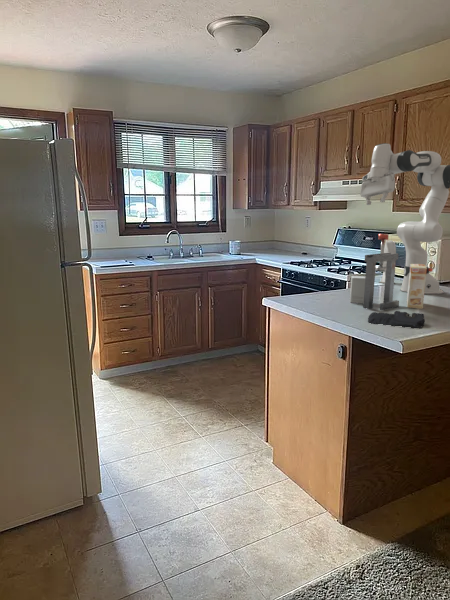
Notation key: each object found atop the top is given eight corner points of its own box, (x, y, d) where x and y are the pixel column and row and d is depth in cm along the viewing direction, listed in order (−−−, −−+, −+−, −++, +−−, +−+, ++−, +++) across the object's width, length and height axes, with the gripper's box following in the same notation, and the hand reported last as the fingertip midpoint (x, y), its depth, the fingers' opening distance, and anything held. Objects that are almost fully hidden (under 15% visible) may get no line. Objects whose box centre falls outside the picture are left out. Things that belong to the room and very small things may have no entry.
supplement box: (365, 303, 228) (367, 278, 225) (350, 302, 229) (351, 277, 226) (364, 300, 235) (366, 276, 232) (349, 299, 236) (350, 275, 234)
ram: (373, 270, 219) (375, 234, 216) (379, 270, 222) (382, 233, 219) (382, 272, 216) (385, 234, 212) (388, 271, 218) (391, 234, 215)
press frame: (361, 307, 219) (365, 254, 214) (384, 302, 230) (388, 252, 225) (378, 311, 211) (383, 256, 206) (402, 306, 223) (406, 254, 217)
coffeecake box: (423, 309, 217) (427, 267, 213) (406, 307, 219) (410, 267, 215) (421, 302, 231) (425, 264, 227) (406, 301, 233) (410, 263, 229)
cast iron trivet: (370, 316, 203) (371, 306, 202) (424, 322, 195) (425, 311, 194) (366, 324, 190) (366, 313, 189) (424, 330, 181) (425, 319, 180)
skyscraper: (376, 282, 291) (380, 237, 285) (386, 281, 294) (390, 237, 289) (386, 284, 284) (390, 238, 278) (396, 283, 287) (400, 238, 281)
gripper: (399, 173, 221) (396, 201, 221) (369, 181, 240) (365, 207, 239) (390, 169, 219) (386, 198, 218) (359, 178, 237) (356, 204, 237)
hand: (375, 203), depth 229 cm, fingers open, 8 cm apart
